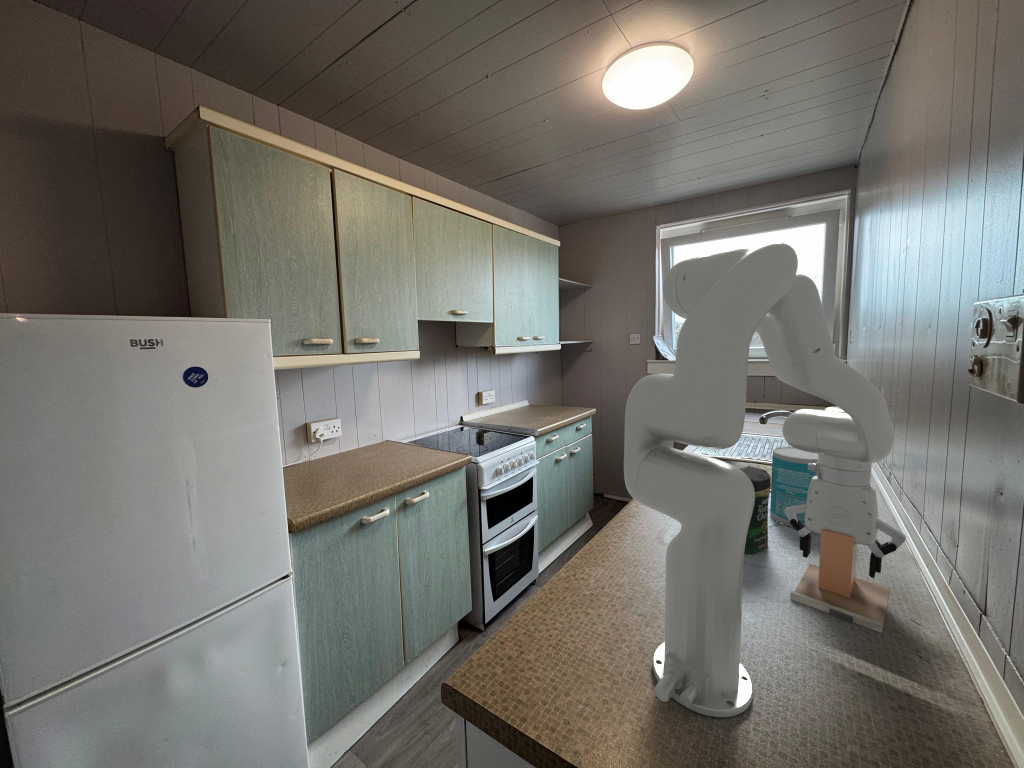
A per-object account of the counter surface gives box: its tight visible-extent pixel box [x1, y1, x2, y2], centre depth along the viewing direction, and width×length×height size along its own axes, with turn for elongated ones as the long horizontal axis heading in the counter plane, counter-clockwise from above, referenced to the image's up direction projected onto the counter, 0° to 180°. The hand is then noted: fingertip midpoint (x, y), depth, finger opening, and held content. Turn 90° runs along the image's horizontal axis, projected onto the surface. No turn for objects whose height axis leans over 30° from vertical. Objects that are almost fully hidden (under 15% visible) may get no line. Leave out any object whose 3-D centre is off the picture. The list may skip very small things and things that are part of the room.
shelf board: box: [790, 563, 891, 634], centre depth 73 cm, size 16×12×2 cm
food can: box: [769, 446, 818, 529], centre depth 104 cm, size 12×12×18 cm
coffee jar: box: [739, 465, 772, 555], centre depth 90 cm, size 10×8×19 cm
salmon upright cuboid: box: [818, 529, 859, 598], centre depth 75 cm, size 5×7×11 cm, turn 134°
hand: (837, 564), depth 75 cm, fingers open, 9 cm apart
